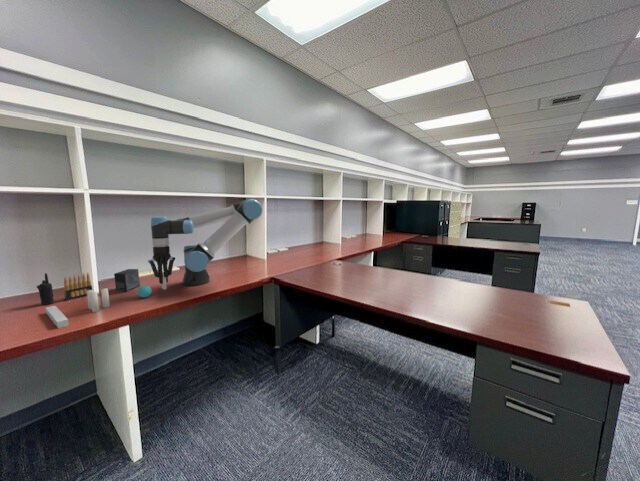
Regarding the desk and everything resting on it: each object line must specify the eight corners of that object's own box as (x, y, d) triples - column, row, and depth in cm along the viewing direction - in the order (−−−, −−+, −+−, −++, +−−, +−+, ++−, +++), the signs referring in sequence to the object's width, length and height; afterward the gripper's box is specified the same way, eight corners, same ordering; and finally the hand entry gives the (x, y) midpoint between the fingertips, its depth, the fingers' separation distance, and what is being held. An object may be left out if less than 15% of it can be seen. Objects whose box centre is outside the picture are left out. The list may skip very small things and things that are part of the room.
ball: (149, 294, 138) (148, 283, 138) (154, 296, 135) (153, 285, 134) (136, 297, 134) (135, 286, 133) (140, 300, 130) (139, 288, 129)
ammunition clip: (66, 300, 129) (63, 277, 127) (65, 300, 130) (62, 276, 128) (93, 294, 138) (90, 272, 137) (91, 293, 139) (89, 272, 138)
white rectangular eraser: (55, 310, 117) (55, 305, 116) (68, 325, 102) (67, 319, 102) (46, 313, 114) (45, 307, 114) (58, 328, 100) (57, 322, 100)
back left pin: (98, 309, 118) (96, 291, 117) (99, 310, 117) (97, 292, 116) (91, 311, 116) (89, 292, 115) (92, 312, 115) (90, 294, 114)
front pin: (108, 305, 123) (106, 288, 122) (110, 306, 122) (108, 288, 121) (102, 306, 121) (100, 289, 120) (103, 308, 120) (102, 290, 119)
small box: (129, 286, 153) (128, 268, 152) (140, 286, 153) (139, 268, 152) (115, 291, 143) (113, 273, 141) (126, 292, 142) (125, 273, 141)
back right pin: (94, 307, 121) (92, 289, 120) (96, 308, 120) (94, 290, 119) (88, 308, 119) (86, 290, 118) (89, 310, 118) (87, 291, 117)
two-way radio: (56, 303, 126) (51, 272, 124) (44, 306, 122) (39, 275, 120) (47, 301, 127) (43, 271, 125) (36, 305, 123) (31, 274, 121)
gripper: (170, 243, 146) (173, 284, 149) (144, 246, 135) (147, 290, 139) (177, 245, 142) (179, 287, 145) (150, 248, 131) (153, 293, 134)
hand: (164, 288), depth 142 cm, fingers closed
